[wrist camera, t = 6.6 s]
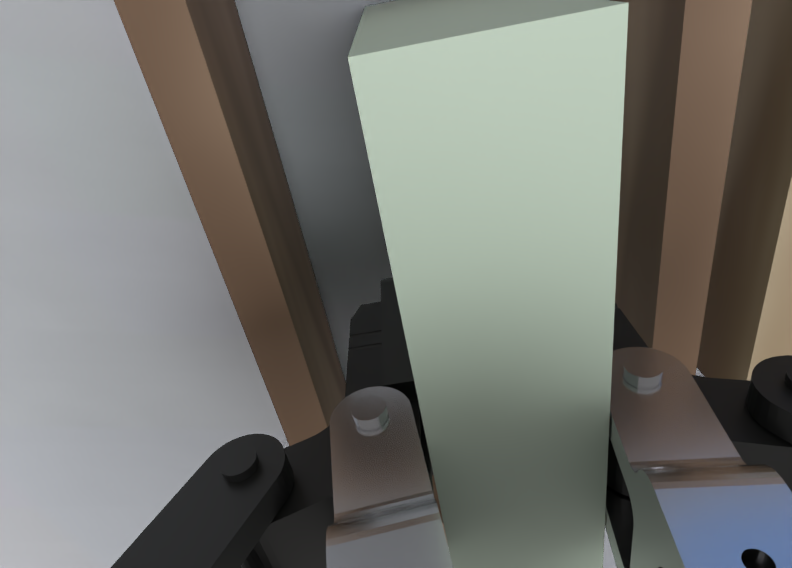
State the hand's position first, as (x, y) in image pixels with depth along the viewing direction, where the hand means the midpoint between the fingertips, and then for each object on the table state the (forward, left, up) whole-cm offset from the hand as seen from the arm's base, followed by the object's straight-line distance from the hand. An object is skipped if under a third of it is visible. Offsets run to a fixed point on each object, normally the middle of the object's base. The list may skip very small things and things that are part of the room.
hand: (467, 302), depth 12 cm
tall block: (0, 0, -4) cm, 4 cm away
